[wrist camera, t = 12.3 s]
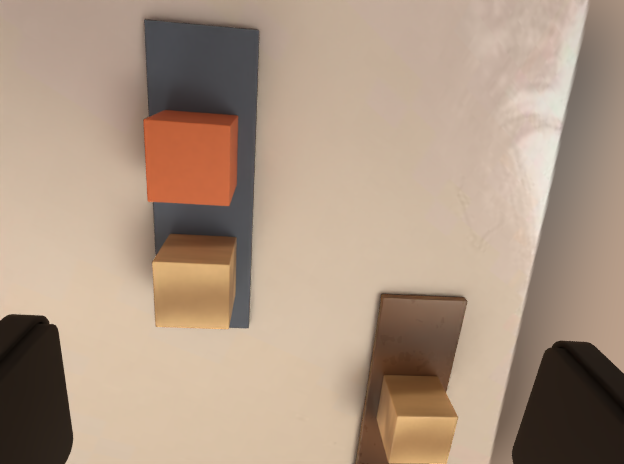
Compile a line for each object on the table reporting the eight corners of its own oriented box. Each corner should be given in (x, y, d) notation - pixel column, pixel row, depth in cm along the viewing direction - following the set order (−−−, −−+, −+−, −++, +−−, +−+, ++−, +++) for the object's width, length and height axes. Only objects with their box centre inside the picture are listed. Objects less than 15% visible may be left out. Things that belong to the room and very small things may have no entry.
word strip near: (146, 19, 25) (143, 19, 25) (259, 30, 26) (259, 29, 25) (160, 321, 33) (158, 325, 32) (249, 324, 33) (248, 328, 33)
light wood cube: (383, 374, 35) (397, 416, 31) (438, 375, 35) (458, 417, 31) (376, 418, 36) (388, 464, 32) (428, 419, 37) (446, 464, 33)
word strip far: (381, 293, 33) (383, 297, 32) (464, 297, 34) (467, 301, 33) (350, 489, 40) (351, 495, 40) (420, 489, 41) (422, 495, 40)
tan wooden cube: (169, 233, 30) (151, 261, 25) (236, 236, 30) (229, 264, 26) (171, 292, 31) (155, 327, 27) (235, 294, 32) (228, 329, 27)
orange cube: (164, 109, 27) (143, 119, 23) (238, 115, 27) (230, 125, 23) (166, 181, 28) (147, 201, 24) (236, 185, 29) (229, 206, 25)
